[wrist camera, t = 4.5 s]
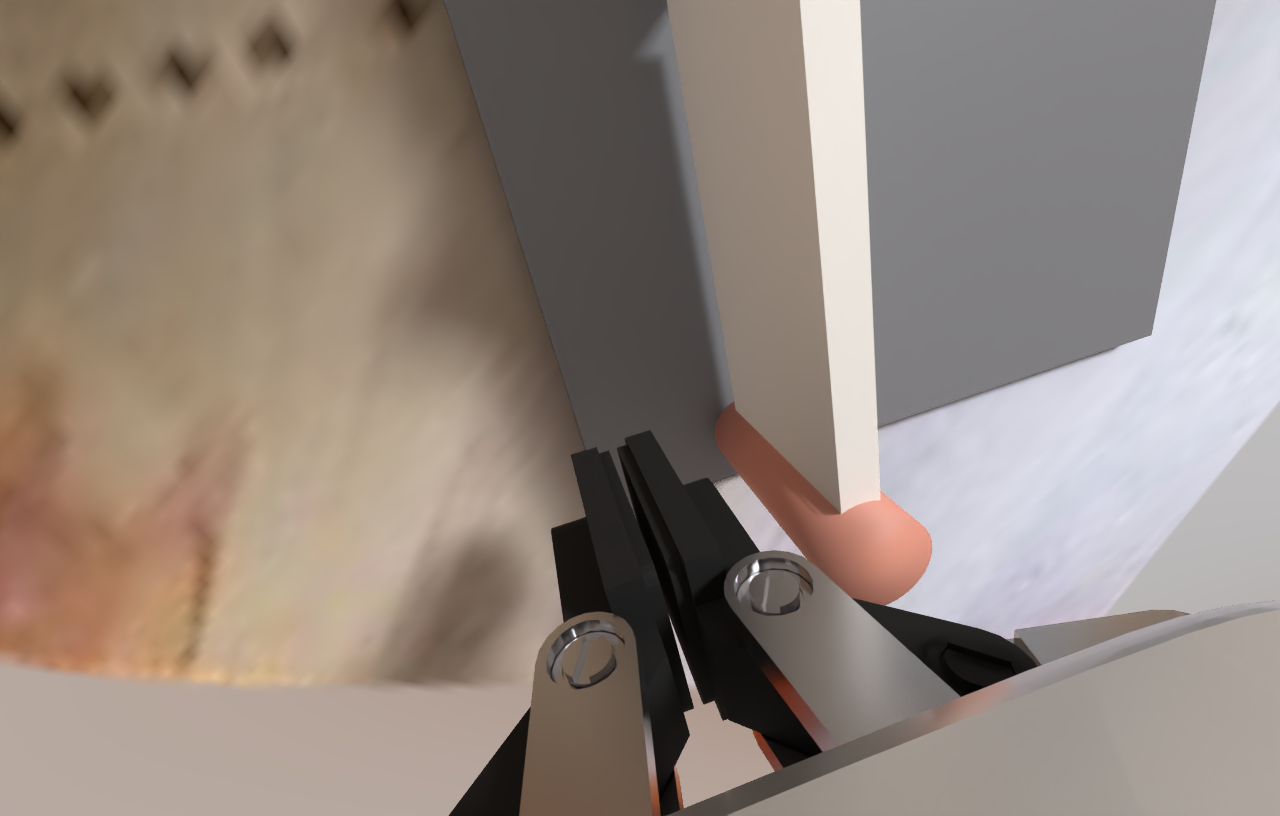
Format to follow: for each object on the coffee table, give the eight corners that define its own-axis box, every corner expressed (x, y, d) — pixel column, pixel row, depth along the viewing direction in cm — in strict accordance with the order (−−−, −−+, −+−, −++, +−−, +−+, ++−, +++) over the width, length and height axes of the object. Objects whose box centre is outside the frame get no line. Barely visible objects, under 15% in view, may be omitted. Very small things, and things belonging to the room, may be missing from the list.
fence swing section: (632, 12, 11) (762, -154, 5) (725, -9, 11) (938, -187, 6) (720, 469, 15) (836, 623, 10) (784, 447, 16) (931, 587, 10)
